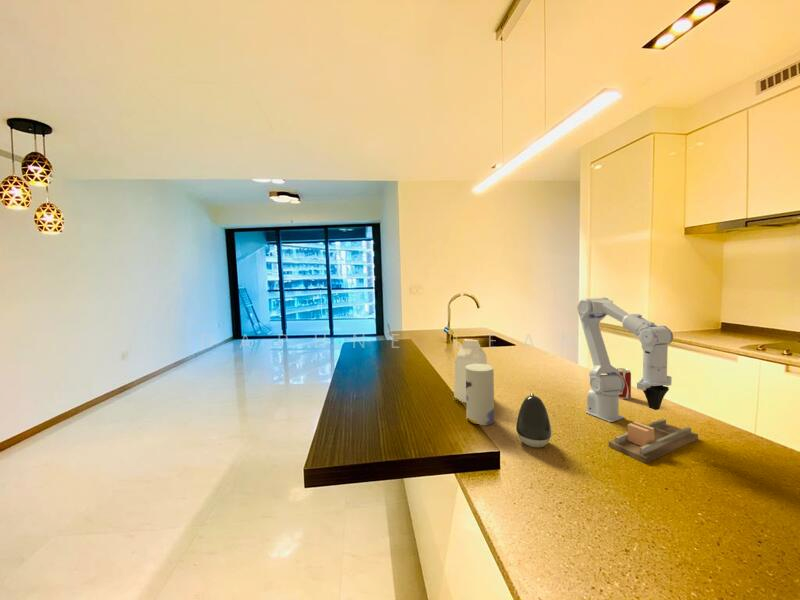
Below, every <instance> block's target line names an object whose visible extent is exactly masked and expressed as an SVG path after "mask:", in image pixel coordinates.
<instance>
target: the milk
mask: <svg viewBox="0 0 800 600" xmlns="http://www.w3.org/2000/svg"><path fill="white" fill-rule="evenodd" d="M487 360H488V357H487V353H486V352H485V351H484V350H483V347H482V346H481V345H480V342H479V340H478V339H465V338H463V340H462V343H461V346H460V347H459V350H458V352H457V354H456V356H455V359H454V382H453V383H454V385H453V387H454V391H453V393H454V394H453V398H454V397H455V398H457V399H459V400H460V401H463V402H466V370H465V367H466V366H467V365H470V364H487V365H488V361H487ZM463 402H462V403H463Z"/></svg>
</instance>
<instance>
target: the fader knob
mask: <svg viewBox="0 0 800 600" xmlns="http://www.w3.org/2000/svg"><path fill="white" fill-rule="evenodd" d="M647 425H648V424H644V423H641V422H638V421H632V422H630V423H628V424H627V432H628V441H630V442H633V443H635V444H637V445H640V446H644V445H646V444H649V443H651V442H653V441H654V428H652V427H649V426H647Z"/></svg>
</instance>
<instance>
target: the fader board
mask: <svg viewBox="0 0 800 600" xmlns="http://www.w3.org/2000/svg"><path fill="white" fill-rule="evenodd" d="M646 425H647V426H649V427H652V428H654V441H653V442H651V443H649V444H646V445H644V446H640V445H637V444H635V443H633V442H630V441H628V431H627V432H624V433H622V434H620V435H617V436H615V437H614V439H612V440H610V441H608V447H609V448H611V449H614V450H615V451H617V452H620V453H622V454H624V455H626V456H629V457H631V458H633V459H635V460H637V461H639V462H642V463H644V464H648V463H651V462H652V461H654V460H657V459H658V458H661V457H662V456H664V455H667V454H669V453H671V452H673V451H675V450H677V449H680V448H682V447H684V446H687V445H688V444H691V443H692V442H695V441H697V440H698V439H699V434H698V433H695V432H692V427H690V426H685V427H684V428H680V427H678V426H674V425H671V424H669V423H667V419H665V418H662V419H658V420H657V421H654V422H650V423H649V424H648V423H647V424H646Z"/></svg>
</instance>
